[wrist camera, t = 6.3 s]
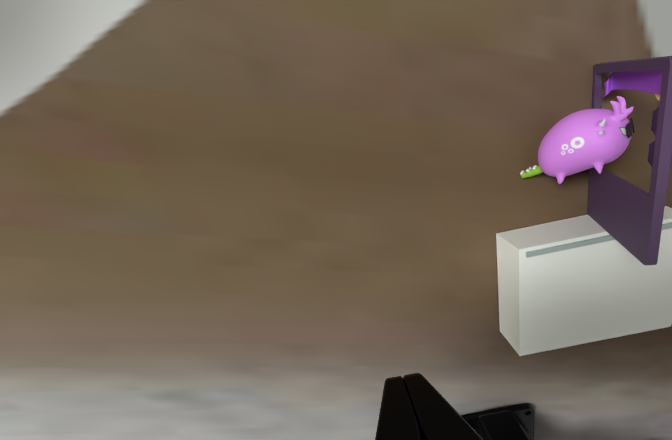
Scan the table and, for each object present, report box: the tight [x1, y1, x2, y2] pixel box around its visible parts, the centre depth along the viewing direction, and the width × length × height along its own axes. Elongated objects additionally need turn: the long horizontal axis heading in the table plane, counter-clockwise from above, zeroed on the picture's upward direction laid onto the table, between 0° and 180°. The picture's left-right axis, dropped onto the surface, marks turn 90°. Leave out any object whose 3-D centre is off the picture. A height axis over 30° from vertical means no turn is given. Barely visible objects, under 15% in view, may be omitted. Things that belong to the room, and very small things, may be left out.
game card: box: [520, 56, 672, 265], centre depth 17 cm, size 7×5×9 cm
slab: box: [496, 206, 672, 356], centre depth 21 cm, size 8×10×3 cm
